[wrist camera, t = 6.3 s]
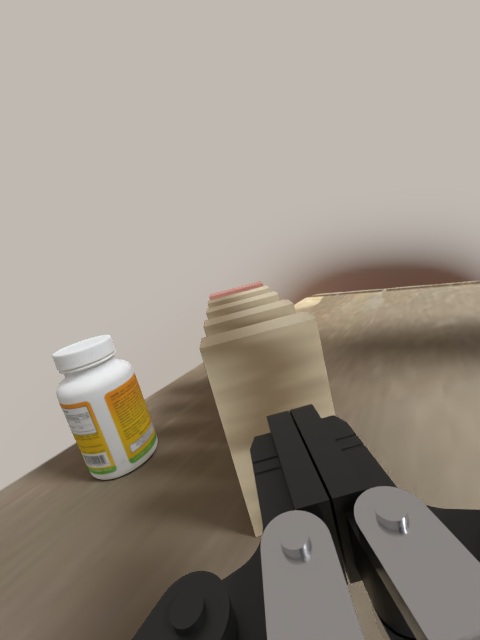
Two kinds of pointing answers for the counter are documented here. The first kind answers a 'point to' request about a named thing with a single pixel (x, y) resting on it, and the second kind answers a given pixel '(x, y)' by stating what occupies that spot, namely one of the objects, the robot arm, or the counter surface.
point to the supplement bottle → (104, 408)
